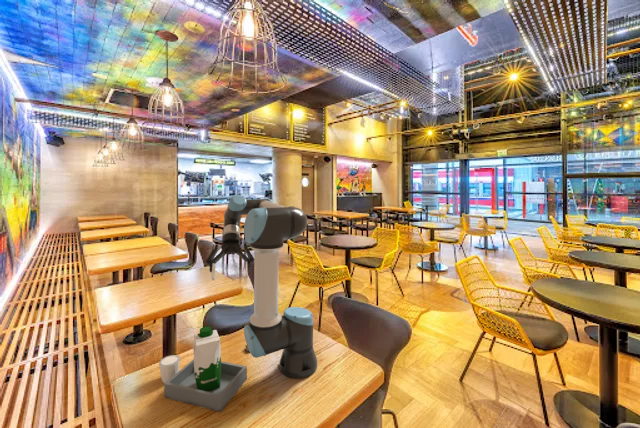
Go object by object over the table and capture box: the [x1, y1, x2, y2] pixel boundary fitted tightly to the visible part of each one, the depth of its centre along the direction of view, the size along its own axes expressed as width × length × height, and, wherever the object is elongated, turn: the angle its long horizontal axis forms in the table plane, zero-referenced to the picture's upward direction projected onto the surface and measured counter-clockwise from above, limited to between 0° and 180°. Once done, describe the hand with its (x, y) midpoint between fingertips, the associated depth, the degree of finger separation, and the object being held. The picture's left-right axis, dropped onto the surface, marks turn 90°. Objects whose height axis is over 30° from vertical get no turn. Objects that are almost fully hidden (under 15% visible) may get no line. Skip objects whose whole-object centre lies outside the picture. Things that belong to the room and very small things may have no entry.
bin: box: [163, 358, 248, 413], centre depth 98 cm, size 22×16×5 cm
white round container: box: [158, 354, 181, 384], centre depth 103 cm, size 7×7×7 cm
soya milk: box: [192, 325, 222, 392], centre depth 97 cm, size 9×9×20 cm
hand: (229, 277), depth 115 cm, fingers open, 13 cm apart
